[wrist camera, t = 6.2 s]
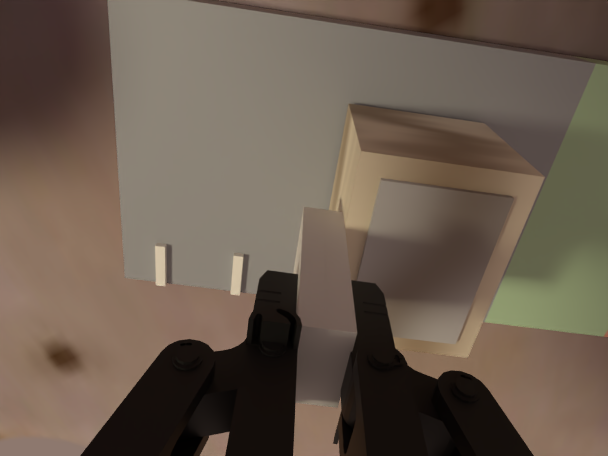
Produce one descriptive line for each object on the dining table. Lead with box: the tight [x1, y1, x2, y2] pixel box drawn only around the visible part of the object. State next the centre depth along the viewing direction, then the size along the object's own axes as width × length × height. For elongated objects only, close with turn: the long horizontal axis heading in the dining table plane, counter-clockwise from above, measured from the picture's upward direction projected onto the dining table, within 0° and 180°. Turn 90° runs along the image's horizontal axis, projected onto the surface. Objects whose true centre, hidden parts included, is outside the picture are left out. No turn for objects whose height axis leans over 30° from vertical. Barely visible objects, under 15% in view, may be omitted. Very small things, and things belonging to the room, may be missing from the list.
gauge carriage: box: [329, 104, 545, 358], centre depth 20 cm, size 6×10×6 cm, turn 172°
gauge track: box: [107, 0, 608, 337], centre depth 23 cm, size 31×14×2 cm, turn 82°
